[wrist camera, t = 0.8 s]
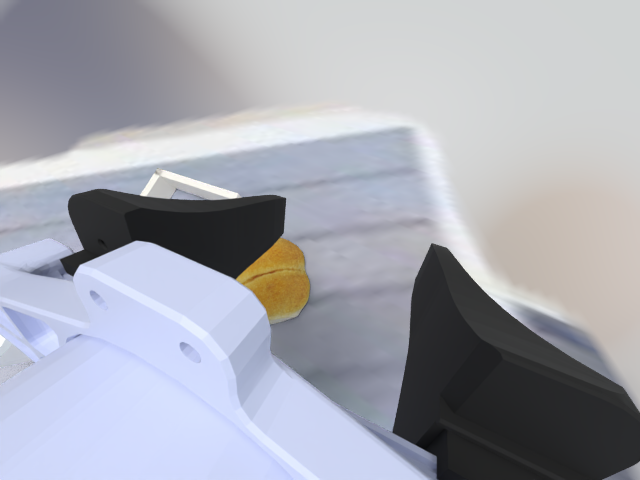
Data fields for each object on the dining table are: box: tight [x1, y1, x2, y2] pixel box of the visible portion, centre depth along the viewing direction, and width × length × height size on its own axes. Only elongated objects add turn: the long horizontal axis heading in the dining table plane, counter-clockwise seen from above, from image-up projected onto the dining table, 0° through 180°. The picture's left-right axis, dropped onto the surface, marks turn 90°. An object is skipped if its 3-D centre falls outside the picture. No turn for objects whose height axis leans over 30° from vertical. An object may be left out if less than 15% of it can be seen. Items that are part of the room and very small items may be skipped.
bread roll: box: [236, 238, 310, 324], centre depth 24 cm, size 8×9×4 cm
